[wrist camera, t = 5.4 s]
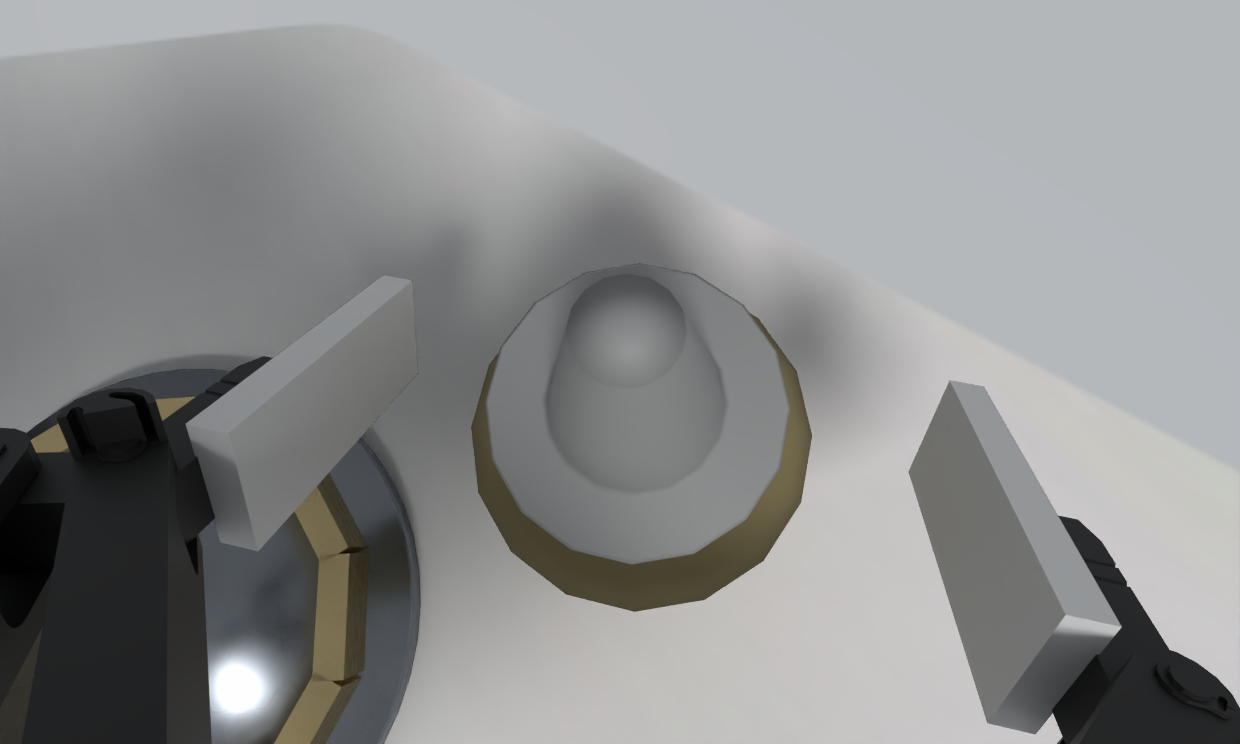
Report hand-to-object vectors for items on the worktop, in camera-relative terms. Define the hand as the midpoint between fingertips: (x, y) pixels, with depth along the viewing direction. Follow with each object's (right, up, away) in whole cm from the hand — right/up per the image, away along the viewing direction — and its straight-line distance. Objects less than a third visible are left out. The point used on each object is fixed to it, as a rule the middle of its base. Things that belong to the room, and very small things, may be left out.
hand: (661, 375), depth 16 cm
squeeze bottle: (0, -4, +8) cm, 9 cm away
